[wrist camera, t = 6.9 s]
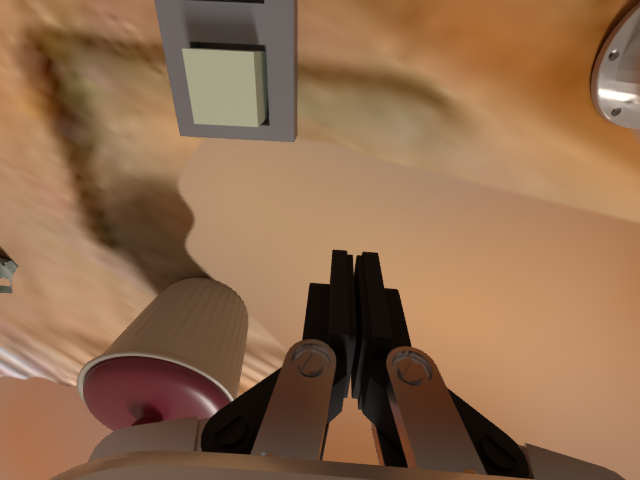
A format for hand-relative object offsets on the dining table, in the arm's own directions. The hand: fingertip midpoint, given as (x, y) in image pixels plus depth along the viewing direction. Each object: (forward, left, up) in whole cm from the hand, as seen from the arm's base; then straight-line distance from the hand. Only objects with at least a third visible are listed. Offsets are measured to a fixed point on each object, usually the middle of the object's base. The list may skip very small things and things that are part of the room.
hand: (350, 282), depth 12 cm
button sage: (+11, -4, -26) cm, 28 cm away
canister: (+19, +28, -27) cm, 43 cm away
